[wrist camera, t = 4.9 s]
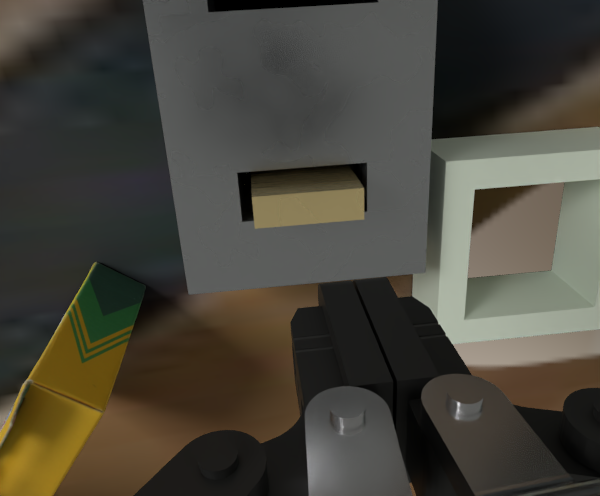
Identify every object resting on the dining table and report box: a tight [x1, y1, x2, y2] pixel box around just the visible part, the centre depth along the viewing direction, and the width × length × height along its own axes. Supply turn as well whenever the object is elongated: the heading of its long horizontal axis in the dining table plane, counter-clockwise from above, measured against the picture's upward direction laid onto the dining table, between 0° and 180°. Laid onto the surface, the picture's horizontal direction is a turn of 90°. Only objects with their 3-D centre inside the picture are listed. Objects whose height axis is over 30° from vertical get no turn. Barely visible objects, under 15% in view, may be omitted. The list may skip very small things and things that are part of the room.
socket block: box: [143, 0, 438, 295], centre depth 21 cm, size 18×10×5 cm, turn 3°
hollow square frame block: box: [412, 127, 600, 344], centre depth 26 cm, size 9×9×4 cm
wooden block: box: [251, 164, 364, 229], centre depth 22 cm, size 1×4×6 cm, turn 93°
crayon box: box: [0, 262, 146, 496], centre depth 23 cm, size 7×3×12 cm, turn 147°
